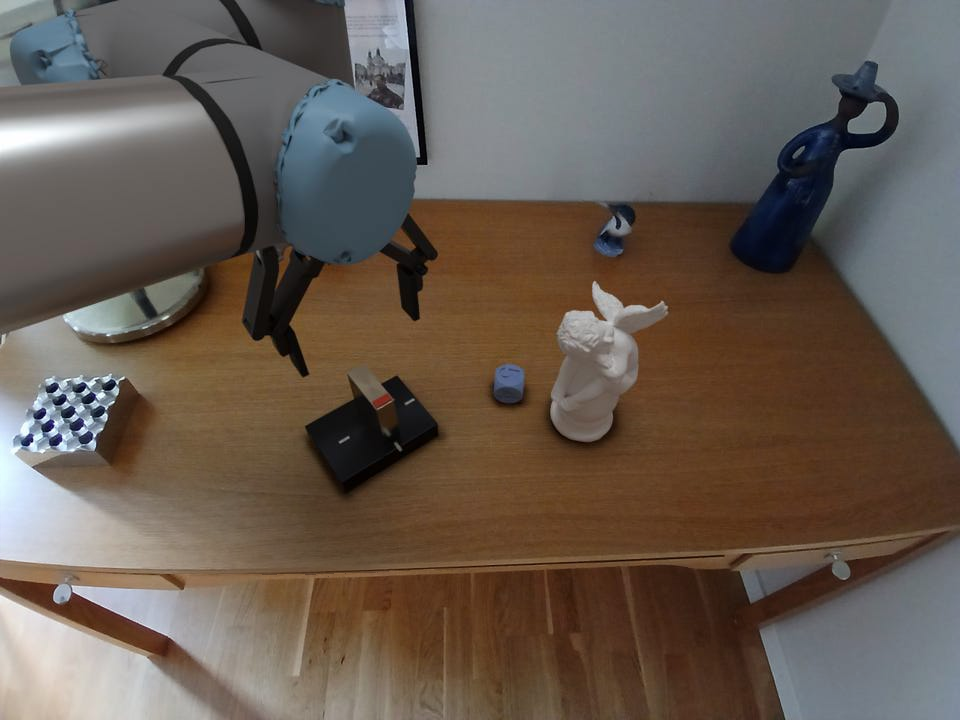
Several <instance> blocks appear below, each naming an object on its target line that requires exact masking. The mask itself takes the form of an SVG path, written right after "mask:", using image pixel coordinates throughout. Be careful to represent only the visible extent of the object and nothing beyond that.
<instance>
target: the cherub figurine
mask: <svg viewBox="0 0 960 720" xmlns="http://www.w3.org/2000/svg"><path fill="white" fill-rule="evenodd" d="M591 293H592V300H593V302H594V304H595V307H596V308H597V309H598V312H599V313H600V314H601V315H602V317H603V319H605V320H601V319H599V318H598V317H596V316H595V313H594V311H592V310H577V309H574V310H570V311H567V312H565V314H564V316H563V319H562V321H561V323H560V325H559V326H558V330H557V332H556V333H555V335H556V343H557V344H558V348H559V349H560V351H561V352H562V354H564V355H565V357H564V359H563V361H562V363H561V366H560V368H559V371H558V375H557V378H556V381H555V382H554V384H553V387H552V389H551V392H550V399H551V400H552V401H551V405H550V409H549V413H550V414H549V415H550V419H551V421H552V424H553V426H554V427H555V429H556V430H557V432H559V434H561V435H562V436H563V437H566V438H567V439H569V440H572V441H577V442H584V443H592V442H594V441H598V440H600V439H602V438H603V436H605V435H606V434H607V433H608V432H609V431H610V429H611V428H612V426H613V425H612V424H613V421H614V413H613V411H614V410H615V409H616V407H617V404H618V402H619V399H620V396H621V395H623V394H625V393H627V391H629V389H631V388H632V387H633V386H634V385H635V383H636V381H637V380H638V375H639V367H640V366H639V348H638V344H637V342H636V341H637V340H635V338H634V337H633V336H632V334H634V333H637V331H639V330H644V329H647V328H649V327H650V326H653V325H655V324H656V323H657V322H660V321H661V320H663V319H664V318H665V317H667V316H668V315H669V311H668V309H669V306H668V305H666V304H665V302H664V300H661V301H660V303H658V304H656V305H655V306H653V307H651V308H648V307H647V306H645V305H642V304H636V305H635V304H630V305H627V306H625V307H624V305H623V303H622V301H620V300H619V299H618V298H617V297H616V296H614V295H613V294H611V293H609V292H605V291H604V290H603V289H601V287H600V285H599V283H597V281H596V280H594V281H593V282H592V287H591Z"/></svg>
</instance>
